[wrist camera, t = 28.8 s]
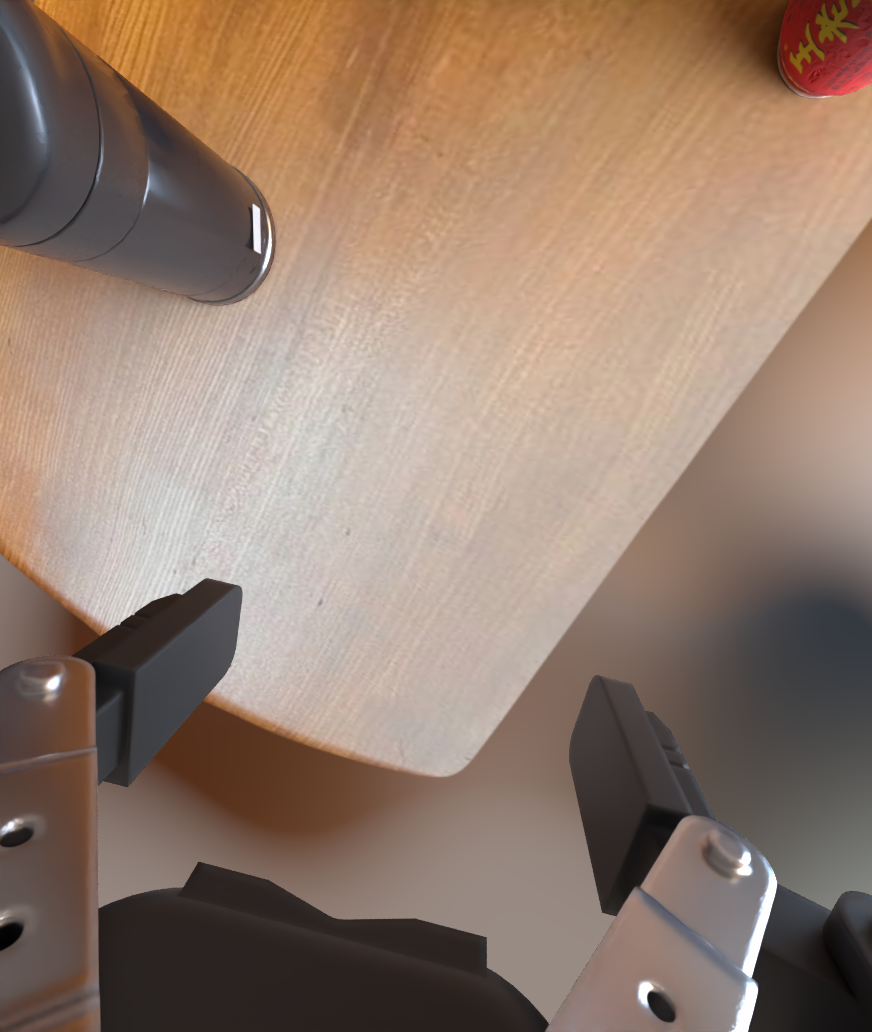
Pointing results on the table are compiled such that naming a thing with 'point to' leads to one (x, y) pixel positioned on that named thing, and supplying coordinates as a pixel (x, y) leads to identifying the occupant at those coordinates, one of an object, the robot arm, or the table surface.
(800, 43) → the soda can
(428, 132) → the table surface
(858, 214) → the table surface
